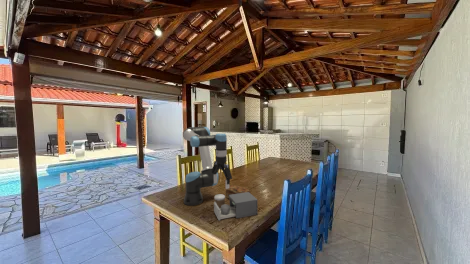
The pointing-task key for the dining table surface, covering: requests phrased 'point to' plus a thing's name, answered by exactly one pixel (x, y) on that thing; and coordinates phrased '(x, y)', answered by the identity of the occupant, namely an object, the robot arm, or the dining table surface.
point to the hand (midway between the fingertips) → (221, 185)
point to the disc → (219, 197)
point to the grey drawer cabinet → (243, 204)
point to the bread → (235, 190)
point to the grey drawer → (232, 213)
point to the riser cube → (220, 202)
